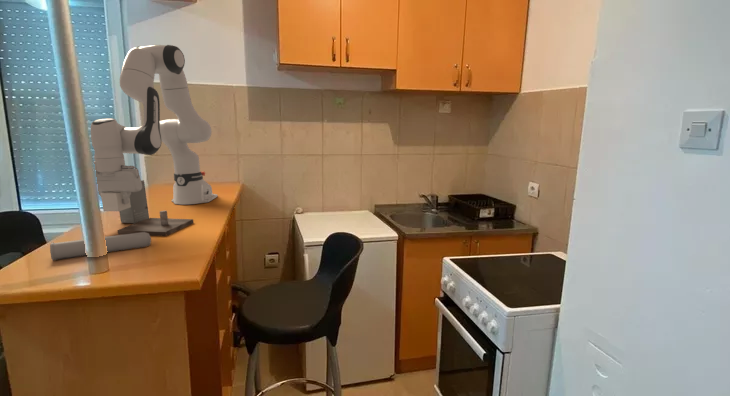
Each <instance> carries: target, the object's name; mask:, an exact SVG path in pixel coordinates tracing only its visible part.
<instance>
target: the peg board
mask: <svg viewBox="0 0 730 396" xmlns="http://www.w3.org/2000/svg"><path fill="white" fill-rule="evenodd" d="M193 224H194V219H193V218H169V217H168V211H167V210H159V217H149V218H148V219H146V220H143V221H140V222H138V223H132V224H131V225H128V226H124V227H122V228H119V229H117V235H124V234H132V233H140V232H146V233H149V235H150V237H151V236H154V237H167V236H169V235H171V234H173V233H176V232H177V231H180V230H181V229H184V228H186V227H189V226H191V225H193Z"/></svg>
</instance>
